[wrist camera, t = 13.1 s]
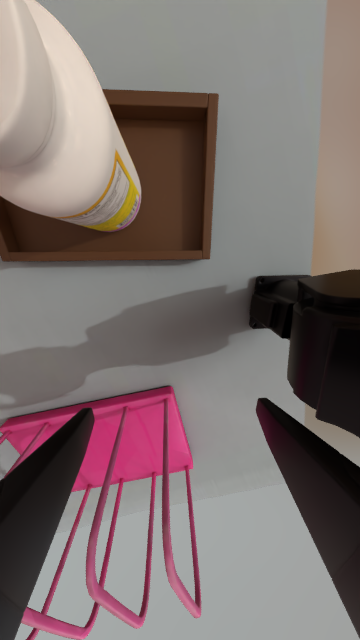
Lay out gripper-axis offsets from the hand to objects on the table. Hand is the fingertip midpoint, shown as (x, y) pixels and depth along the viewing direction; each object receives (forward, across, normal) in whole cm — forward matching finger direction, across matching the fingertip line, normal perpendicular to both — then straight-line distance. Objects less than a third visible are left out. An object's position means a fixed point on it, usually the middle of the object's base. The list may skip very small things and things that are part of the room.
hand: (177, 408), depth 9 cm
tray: (+13, +6, -13) cm, 19 cm away
